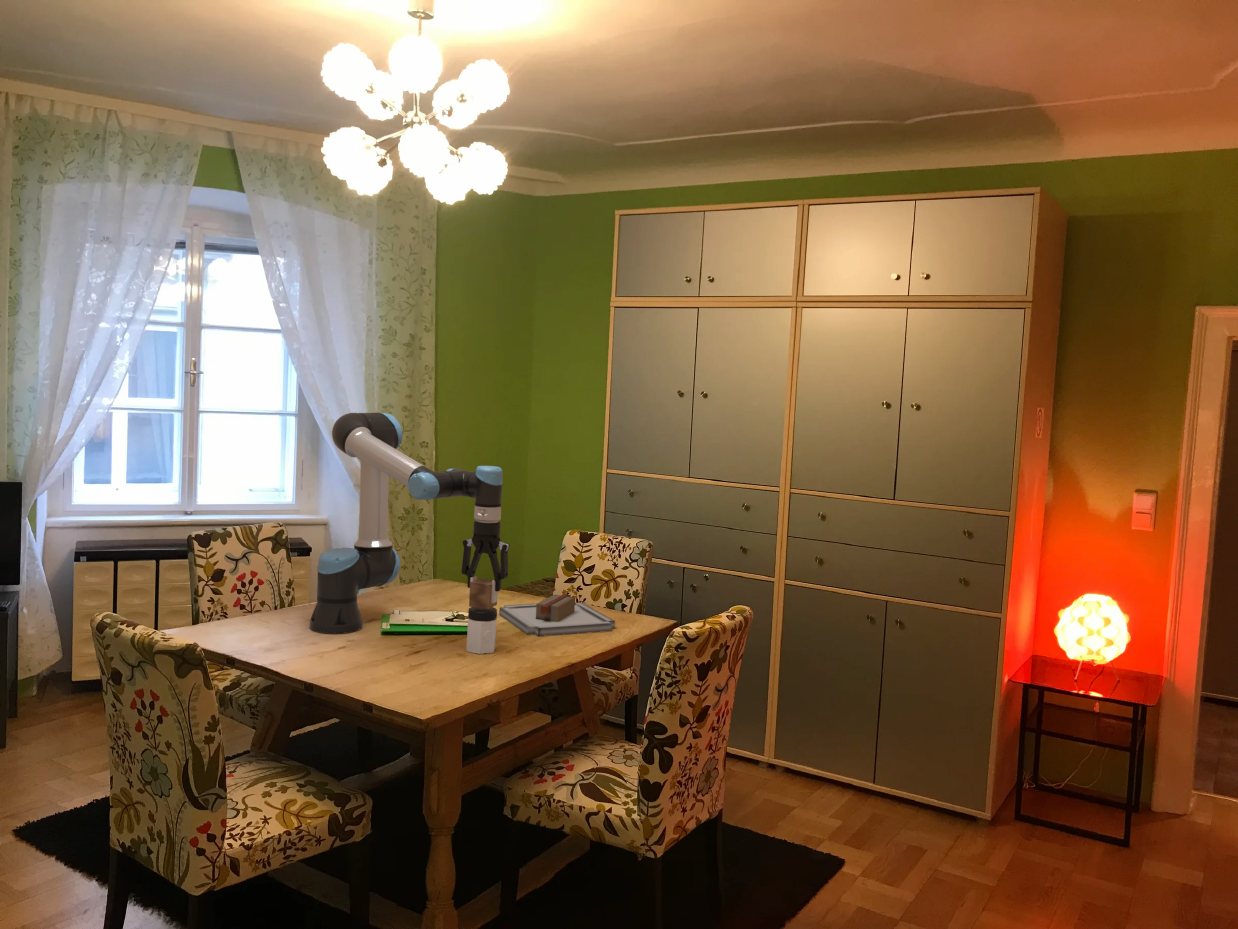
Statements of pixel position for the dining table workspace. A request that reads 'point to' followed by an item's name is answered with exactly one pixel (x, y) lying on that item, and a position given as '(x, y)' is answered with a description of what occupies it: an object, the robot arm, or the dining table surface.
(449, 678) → the dining table surface
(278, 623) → the dining table surface
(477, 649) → the jar
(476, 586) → the walnut block
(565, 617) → the grey tray
